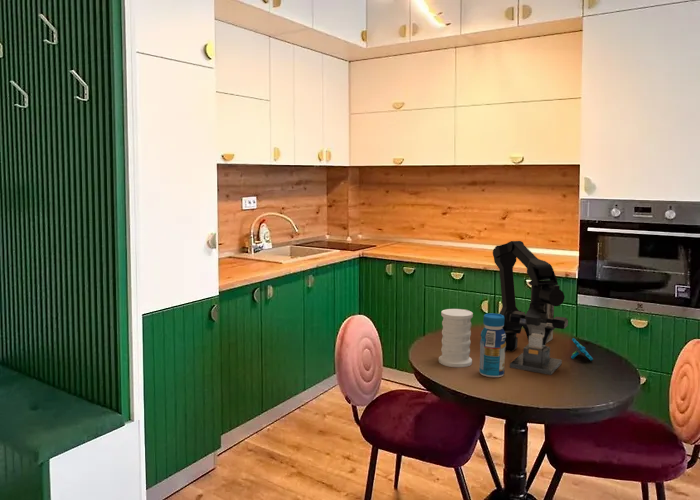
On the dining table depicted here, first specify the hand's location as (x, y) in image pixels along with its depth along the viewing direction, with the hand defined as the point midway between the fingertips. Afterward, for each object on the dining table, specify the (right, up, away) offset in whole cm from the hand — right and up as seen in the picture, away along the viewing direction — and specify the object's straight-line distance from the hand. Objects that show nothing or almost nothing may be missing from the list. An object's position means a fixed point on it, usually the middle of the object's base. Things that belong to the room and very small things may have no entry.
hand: (537, 343), depth 216 cm
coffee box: (+11, -4, +33) cm, 35 cm away
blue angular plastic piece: (+19, -7, +9) cm, 22 cm away
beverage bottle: (-18, -9, -8) cm, 21 cm away
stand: (0, -8, +1) cm, 8 cm away
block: (0, -6, +1) cm, 6 cm away
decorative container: (-28, -7, +4) cm, 29 cm away
